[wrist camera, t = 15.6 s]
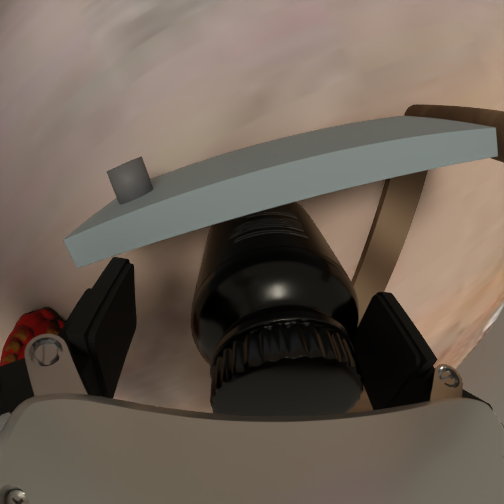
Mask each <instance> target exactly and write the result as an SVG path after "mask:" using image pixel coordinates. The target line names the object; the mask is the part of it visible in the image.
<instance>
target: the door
mask: <svg viewBox="0 0 504 504" xmlns="http://www.w3.org/2000/svg"><path fill="white" fill-rule="evenodd" d="M497 156H498V150H497V136H496V128H495V127H490V126H484V125H479V124H473V123H467V122H460V121H453V120H445V119H436V118H426V117H414V116H396V117H389V118H382V119H375V120H368V121H362V122H356V123H351V124H345V125H340V126H334V127H329V128H324V129H320V130H315V131H310V132H306V133H301V134H297V135H293V136H289V137H284V138H280V139H276V140H272V141H269V142H265V143H261V144H257V145H254V146H250V147H246V148H243V149H239V150H236V151H233V152H229V153H226V154H223V155H219V156H216V157H213V158H210V159H207V160H204V161H201V162H198V163H195V164H192V165H189V166H186V167H183V168H180V169H177V170H174V171H172V172H169V173H166V174H163V175H161V176H158V177H155V178H153V179H150V178H149V175H148V173H147V170H146V167H145V164H144V162H143V159H142V156H141V157H139V158H136V159H134V160H131V161H129V162H127V163H125V164H122V165H120V166H118V167H116V168H113V169H111V170H109V171H107V174H108V176H109V179H110V182H111V184H112V187H113V189H114V192H115V194H116V197H117V198H116V199H115V200H113V201H112V202H110V203H109V204H108V205H106V206H105V207H104V208H102V209H101V210H100V211H98V212H97V213H96V214H95V215H93V216H92V217H91V218H89V219H88V220H87V221H86V222H84V223H83V224H82V225H81V226H79V227H78V228H77V229H76V230H75V231H73V232H72V233H71V234H70V235H69V236H67V237H66V238H65V239H64V243H65V245H66V247H67V249H68V251H69V253H70V255H71V257H72V259H73V261H74V263H75V265H76V266H77V268H80V267H83V266H86V265H89V264H92V263H95V262H97V261H100V260H103V259H106V258H109V257H112V256H115V255H118V254H121V253H124V252H127V251H130V250H133V249H136V248H139V247H142V246H146V245H149V244H152V243H155V242H158V241H161V240H164V239H168V238H171V237H174V236H177V235H180V234H184V233H187V232H190V231H193V230H197V229H200V228H203V227H207V226H210V225H213V224H217V223H220V222H224V221H227V220H231V219H234V218H238V217H241V216H245V215H248V214H252V213H255V212H259V211H262V210H266V209H270V208H273V207H277V206H281V205H284V204H288V203H292V202H295V201H299V200H303V199H307V198H311V197H315V196H318V195H322V194H326V193H330V192H334V191H338V190H342V189H346V188H350V187H355V186H359V185H363V184H367V183H371V182H375V181H380V180H384V179H388V178H393V177H397V176H402V175H406V174H411V173H415V172H420V171H425V170H429V169H434V168H439V167H444V166H449V165H454V164H459V163H464V162H469V161H475V160H480V159H485V158H491V157H497Z"/></svg>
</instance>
